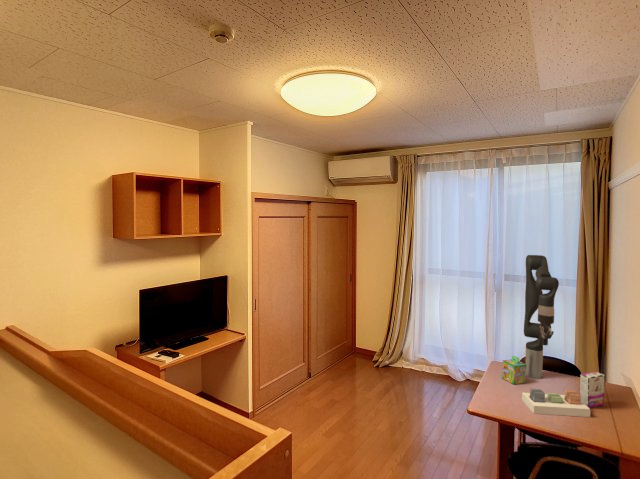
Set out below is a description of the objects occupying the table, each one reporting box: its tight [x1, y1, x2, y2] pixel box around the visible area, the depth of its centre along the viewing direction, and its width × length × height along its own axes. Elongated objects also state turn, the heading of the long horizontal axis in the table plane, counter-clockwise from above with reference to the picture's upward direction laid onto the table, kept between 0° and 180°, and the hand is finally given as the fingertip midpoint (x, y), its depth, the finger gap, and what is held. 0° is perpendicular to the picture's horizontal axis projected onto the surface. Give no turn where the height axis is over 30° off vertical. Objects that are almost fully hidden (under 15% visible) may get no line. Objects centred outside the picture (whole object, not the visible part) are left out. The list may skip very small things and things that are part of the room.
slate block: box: [529, 388, 546, 403], centre depth 188 cm, size 5×5×6 cm
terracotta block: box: [564, 390, 581, 405], centre depth 186 cm, size 5×5×6 cm
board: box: [521, 392, 591, 418], centre depth 187 cm, size 14×26×4 cm, turn 83°
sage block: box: [546, 392, 563, 404], centre depth 187 cm, size 5×5×6 cm
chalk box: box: [501, 355, 527, 385], centre depth 218 cm, size 9×9×15 cm
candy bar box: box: [579, 371, 606, 409], centre depth 190 cm, size 11×5×16 cm, turn 105°
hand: (544, 344), depth 197 cm, fingers closed
